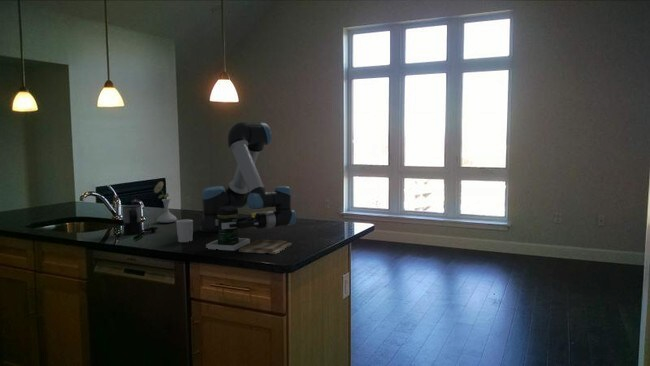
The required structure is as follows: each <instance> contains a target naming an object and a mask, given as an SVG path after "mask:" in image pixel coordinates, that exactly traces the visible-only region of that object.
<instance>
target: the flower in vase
mask: <svg viewBox="0 0 650 366" xmlns="http://www.w3.org/2000/svg"><path fill="white" fill-rule="evenodd" d="M163 186H164V182H163V181H161V180H160V181H158V183H157V184H156V185H155V186H154V188H153V193H155V194H158V193H160V192H161V194H160V195H159V196H158V197H157V198H158V199H161V201H162V202H163V203H162V204H163V206H164V212H163V213H162V214H160V216H159V217H157V219H156V222H158V223H164V224H168V223H174V222H176V221H178V219H177V217H176V216H175V215H174V214H173V213H171V212H170V211H169V203H170V201H171V199H170V198H168V197H169V196H170V195H169V192H167V193H165V194H164V192H163V190H162V189H163V188H164V187H163ZM162 198H164V199H162Z"/></svg>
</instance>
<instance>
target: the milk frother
mask: <svg viewBox="0 0 650 366" xmlns="http://www.w3.org/2000/svg"><path fill="white" fill-rule="evenodd" d="M141 206H142V205H141V204H128V205H122V206H121V207H122V216H123V218H122V219H123V234H124V235H127V236H128V235H129V236H130V235H138V234H139V235H140V234H142V233H143V232H153V233H154V232H156V231H157V230H159V227H157V226H152V227H147V228H144V229H143V230H142V220H141V219H142V218H141V217H142V216H141Z"/></svg>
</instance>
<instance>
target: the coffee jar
mask: <svg viewBox="0 0 650 366" xmlns="http://www.w3.org/2000/svg"><path fill="white" fill-rule="evenodd" d="M238 210H239V208H237V207H235V206H226V207H221V208H218V210H217V217H218V232H217V240H218V245H230V246H233V245H235V244H238V243H239V238H240V237H239V231H238V230H239V228H237V227H236V228H231V229H222V225H221V223H229V222H236V221H237V218H238V217H239V211H238Z"/></svg>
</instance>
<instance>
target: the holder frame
mask: <svg viewBox="0 0 650 366" xmlns="http://www.w3.org/2000/svg"><path fill="white" fill-rule="evenodd" d="M249 244H251V239H250V238H245V237H243V238H241V237H239V243H238V244H235V245H233V246H230V245H218V239H216V240H213V241H211V242H209V243H207V244H205V248H208V249H207V250H216V249H218V250H219V251H220V250H221V251H237V250H239V249H241V248H243V247H245V246H247V245H249ZM218 250H217V251H218Z"/></svg>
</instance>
